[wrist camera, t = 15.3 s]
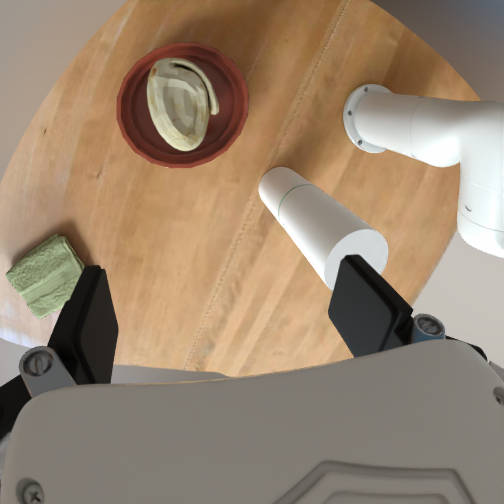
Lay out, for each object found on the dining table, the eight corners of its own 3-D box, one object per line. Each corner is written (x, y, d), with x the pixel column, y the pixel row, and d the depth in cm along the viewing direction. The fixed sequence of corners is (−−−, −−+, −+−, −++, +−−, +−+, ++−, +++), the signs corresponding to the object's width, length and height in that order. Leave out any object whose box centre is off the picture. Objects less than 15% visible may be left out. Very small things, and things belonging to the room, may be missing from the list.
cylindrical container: (270, 215, 50) (335, 307, 29) (251, 180, 47) (313, 254, 25) (306, 195, 50) (393, 271, 28) (290, 159, 46) (380, 215, 25)
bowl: (244, 52, 37) (253, 45, 32) (236, 160, 45) (244, 168, 40) (128, 53, 33) (120, 46, 28) (125, 162, 41) (117, 171, 36)
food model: (152, 81, 36) (126, 62, 18) (197, 67, 36) (206, 38, 19) (170, 141, 41) (158, 169, 23) (213, 128, 41) (235, 145, 24)
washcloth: (103, 285, 49) (99, 295, 47) (42, 314, 49) (37, 324, 46) (64, 226, 43) (58, 234, 40) (5, 265, 42) (-2, 274, 40)
